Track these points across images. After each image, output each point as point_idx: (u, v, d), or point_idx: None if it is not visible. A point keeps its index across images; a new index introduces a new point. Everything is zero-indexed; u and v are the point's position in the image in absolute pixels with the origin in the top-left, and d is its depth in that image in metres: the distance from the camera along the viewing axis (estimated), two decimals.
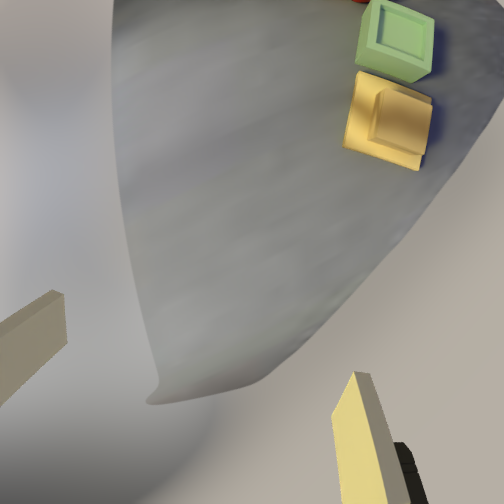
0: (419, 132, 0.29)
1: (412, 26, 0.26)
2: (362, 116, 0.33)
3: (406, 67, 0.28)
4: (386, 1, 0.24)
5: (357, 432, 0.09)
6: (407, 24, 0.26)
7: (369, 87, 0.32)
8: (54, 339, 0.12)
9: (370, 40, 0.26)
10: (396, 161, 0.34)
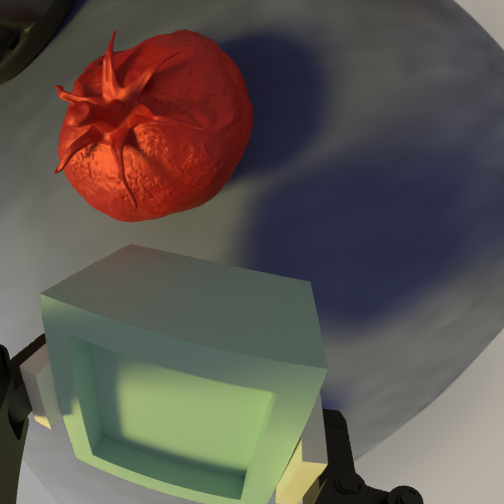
0: None
1: None
2: None
3: None
4: (84, 318, 0.07)
5: None
6: None
7: None
8: None
9: (78, 447, 0.09)
10: None
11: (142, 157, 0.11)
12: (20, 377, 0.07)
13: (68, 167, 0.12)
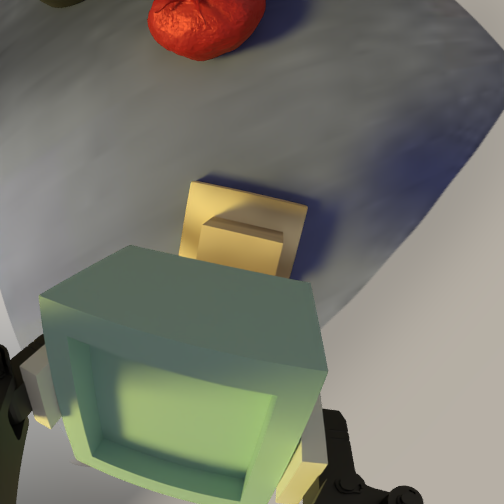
0: None
1: None
2: (195, 249, 0.27)
3: None
4: (83, 319, 0.07)
5: None
6: None
7: (204, 206, 0.26)
8: None
9: (78, 449, 0.09)
10: None
11: (208, 7, 0.17)
12: (20, 377, 0.07)
13: (157, 17, 0.18)
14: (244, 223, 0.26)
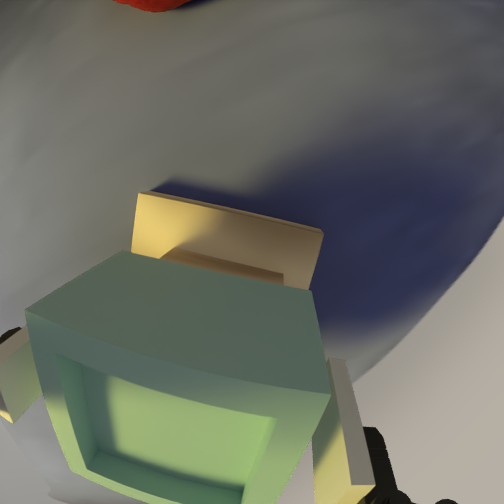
0: None
1: None
2: None
3: None
4: (70, 337, 0.07)
5: (329, 415, 0.10)
6: None
7: (158, 232, 0.16)
8: None
9: (72, 461, 0.08)
10: None
11: None
12: None
13: None
14: (221, 260, 0.16)
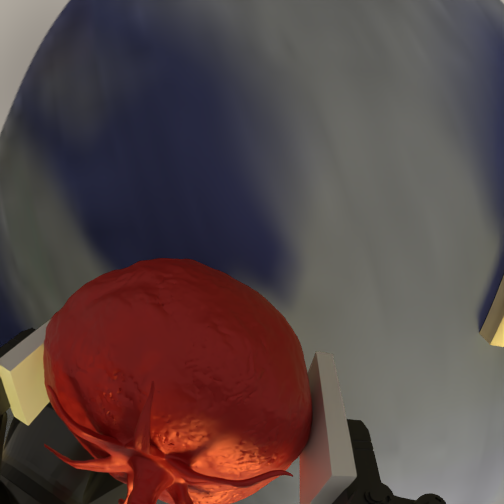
0: None
1: None
2: None
3: None
4: None
5: (314, 408, 0.10)
6: None
7: None
8: None
9: None
10: None
11: (209, 447, 0.07)
12: None
13: None
14: None
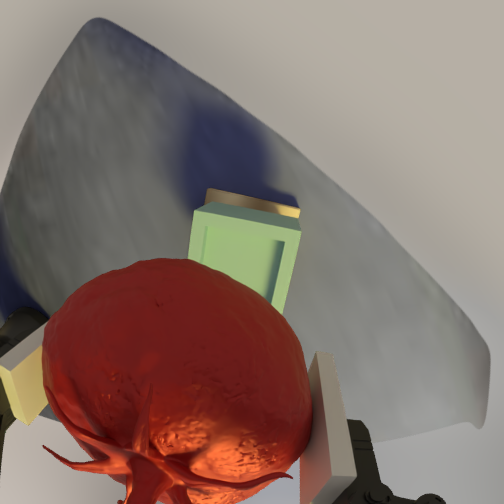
0: None
1: (216, 242, 0.25)
2: None
3: None
4: None
5: (314, 408, 0.10)
6: (215, 251, 0.25)
7: None
8: None
9: None
10: None
11: (209, 449, 0.07)
12: None
13: None
14: None
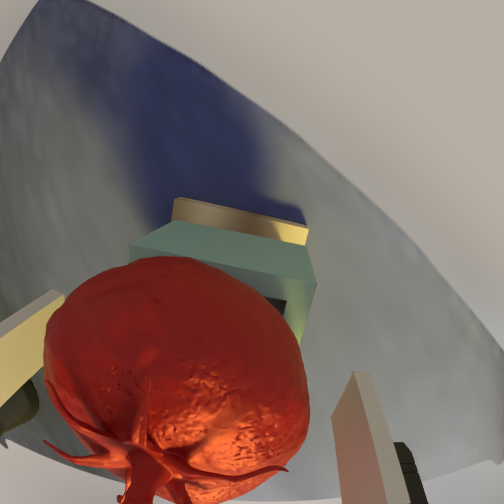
0: None
1: None
2: None
3: None
4: None
5: (357, 432, 0.09)
6: None
7: None
8: None
9: None
10: None
11: (206, 443, 0.07)
12: None
13: (220, 502, 0.08)
14: None
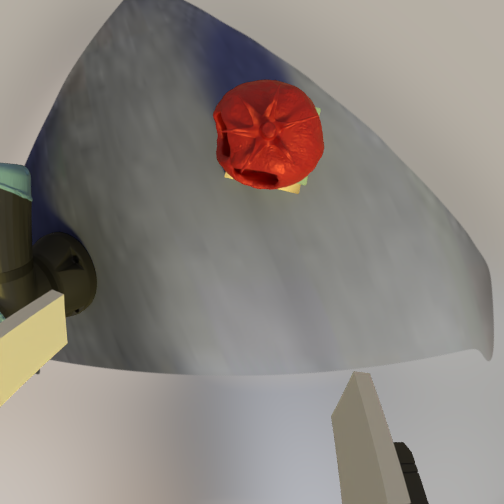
0: None
1: None
2: None
3: None
4: None
5: (357, 432, 0.09)
6: None
7: None
8: (54, 339, 0.12)
9: None
10: None
11: (290, 116, 0.23)
12: None
13: (291, 167, 0.24)
14: None
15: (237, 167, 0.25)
